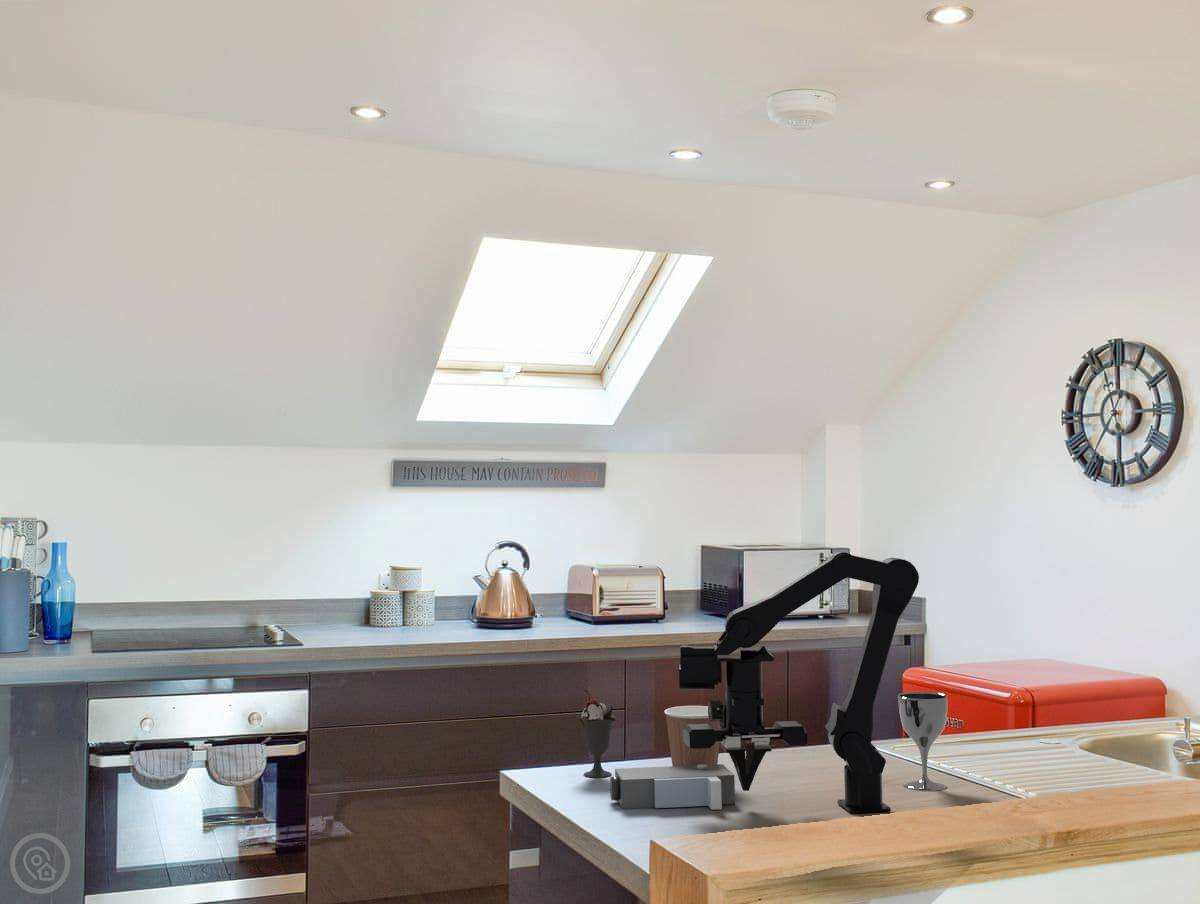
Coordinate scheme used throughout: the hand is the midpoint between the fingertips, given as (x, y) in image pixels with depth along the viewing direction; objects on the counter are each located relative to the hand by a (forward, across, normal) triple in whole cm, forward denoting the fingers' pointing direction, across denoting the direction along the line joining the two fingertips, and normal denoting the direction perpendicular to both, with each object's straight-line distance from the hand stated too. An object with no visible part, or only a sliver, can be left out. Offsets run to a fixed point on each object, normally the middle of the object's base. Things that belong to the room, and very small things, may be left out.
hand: (745, 790), depth 181 cm
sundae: (+3, +20, -26) cm, 33 cm away
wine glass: (+3, -33, -8) cm, 34 cm away
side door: (+2, +9, 0) cm, 10 cm away
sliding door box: (+3, +10, -6) cm, 12 cm away
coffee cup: (+3, +4, -19) cm, 19 cm away
